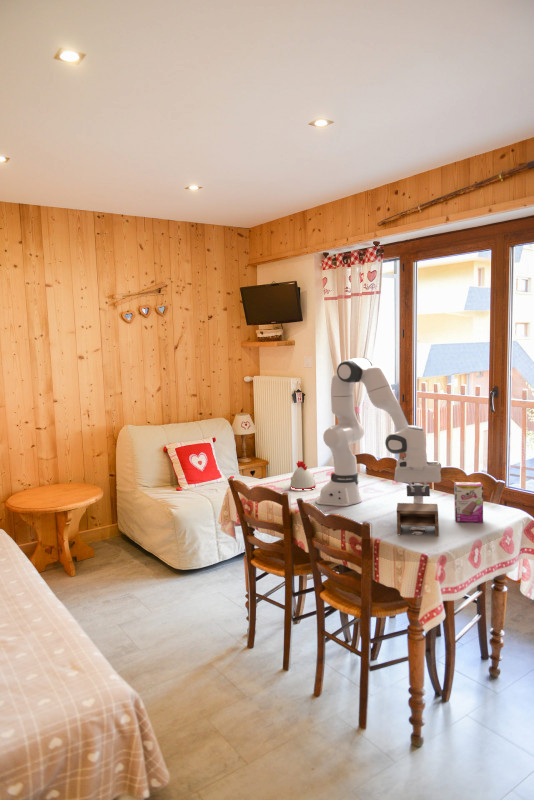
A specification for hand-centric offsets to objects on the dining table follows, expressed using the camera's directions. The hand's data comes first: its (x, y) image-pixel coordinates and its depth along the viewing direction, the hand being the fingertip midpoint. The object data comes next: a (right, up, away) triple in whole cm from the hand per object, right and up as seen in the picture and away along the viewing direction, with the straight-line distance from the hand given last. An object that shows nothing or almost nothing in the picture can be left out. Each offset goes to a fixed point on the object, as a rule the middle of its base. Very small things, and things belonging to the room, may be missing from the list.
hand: (418, 491), depth 244 cm
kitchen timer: (-48, -7, +55) cm, 74 cm away
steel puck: (-6, -13, -23) cm, 27 cm away
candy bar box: (+18, -10, -13) cm, 25 cm away
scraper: (-2, -3, -7) cm, 8 cm away
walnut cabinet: (-6, -13, -22) cm, 26 cm away
